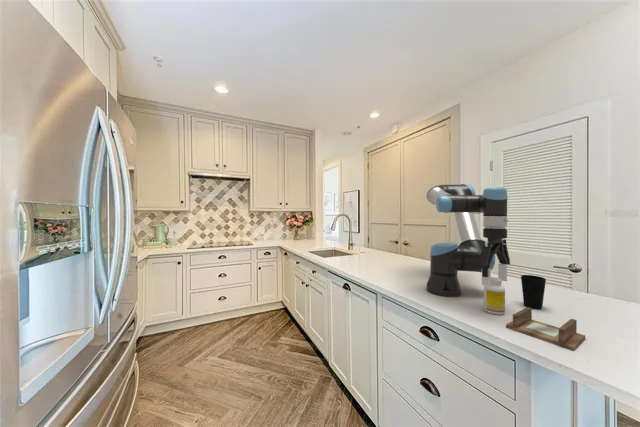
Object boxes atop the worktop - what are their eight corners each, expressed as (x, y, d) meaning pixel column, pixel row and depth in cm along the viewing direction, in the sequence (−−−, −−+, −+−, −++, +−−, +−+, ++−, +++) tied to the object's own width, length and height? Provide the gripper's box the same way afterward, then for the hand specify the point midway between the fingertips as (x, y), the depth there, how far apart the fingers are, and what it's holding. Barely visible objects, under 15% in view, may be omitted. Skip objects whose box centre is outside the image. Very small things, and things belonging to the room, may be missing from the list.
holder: (505, 327, 81) (506, 312, 81) (520, 318, 87) (520, 305, 87) (573, 350, 67) (573, 332, 67) (585, 338, 74) (585, 322, 74)
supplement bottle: (508, 316, 90) (508, 281, 89) (488, 314, 91) (488, 280, 91) (499, 309, 96) (499, 276, 96) (480, 307, 98) (481, 275, 98)
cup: (550, 311, 94) (551, 280, 94) (528, 309, 96) (528, 279, 95) (537, 303, 102) (537, 275, 101) (516, 302, 103) (516, 274, 103)
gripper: (490, 229, 83) (490, 290, 83) (520, 227, 97) (520, 280, 97) (467, 228, 90) (467, 285, 90) (498, 226, 103) (498, 276, 103)
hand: (494, 283), depth 93 cm, fingers open, 13 cm apart
